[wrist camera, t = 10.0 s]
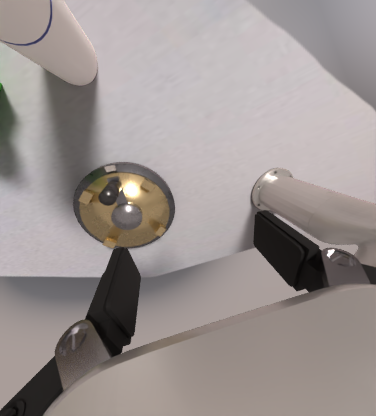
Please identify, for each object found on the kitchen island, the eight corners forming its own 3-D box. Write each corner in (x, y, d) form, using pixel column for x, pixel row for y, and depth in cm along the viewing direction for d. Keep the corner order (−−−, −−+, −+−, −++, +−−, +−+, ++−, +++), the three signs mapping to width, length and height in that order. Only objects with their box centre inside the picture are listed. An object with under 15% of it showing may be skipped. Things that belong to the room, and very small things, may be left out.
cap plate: (182, 174, 34) (185, 177, 32) (164, 245, 42) (165, 251, 40) (76, 149, 27) (70, 151, 25) (78, 239, 35) (73, 247, 33)
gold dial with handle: (106, 152, 27) (90, 159, 19) (183, 199, 35) (192, 217, 27) (67, 225, 31) (42, 253, 24) (144, 252, 39) (142, 280, 32)
